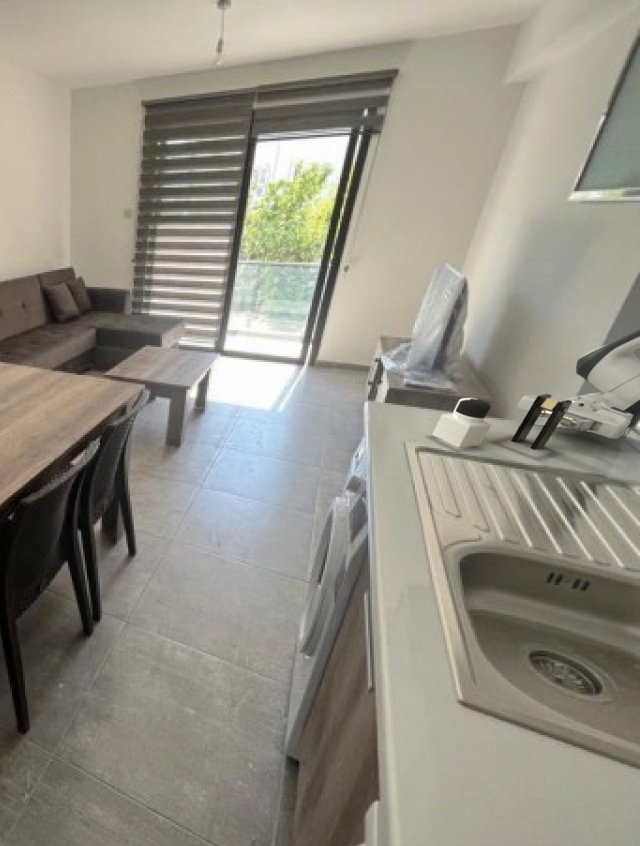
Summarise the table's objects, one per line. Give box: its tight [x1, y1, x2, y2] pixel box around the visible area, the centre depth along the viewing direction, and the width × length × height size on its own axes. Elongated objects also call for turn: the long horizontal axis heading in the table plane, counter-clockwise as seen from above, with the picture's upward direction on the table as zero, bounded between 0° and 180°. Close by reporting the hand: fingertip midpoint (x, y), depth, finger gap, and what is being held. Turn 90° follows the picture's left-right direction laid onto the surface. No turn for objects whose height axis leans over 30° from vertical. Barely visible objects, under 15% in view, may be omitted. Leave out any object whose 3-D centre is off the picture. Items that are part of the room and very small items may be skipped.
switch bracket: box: [510, 393, 573, 451], centre depth 118 cm, size 10×9×14 cm
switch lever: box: [541, 397, 576, 423], centre depth 118 cm, size 12×6×2 cm, turn 117°
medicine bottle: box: [432, 397, 492, 448], centre depth 119 cm, size 7×7×12 cm
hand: (556, 418), depth 121 cm, fingers closed on switch lever, 5 cm apart
